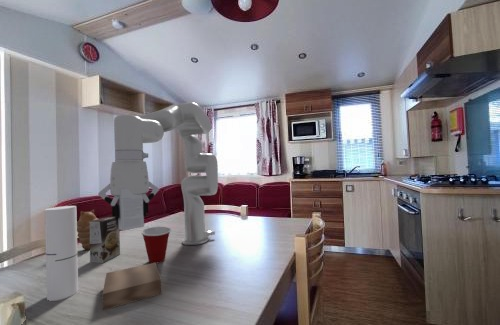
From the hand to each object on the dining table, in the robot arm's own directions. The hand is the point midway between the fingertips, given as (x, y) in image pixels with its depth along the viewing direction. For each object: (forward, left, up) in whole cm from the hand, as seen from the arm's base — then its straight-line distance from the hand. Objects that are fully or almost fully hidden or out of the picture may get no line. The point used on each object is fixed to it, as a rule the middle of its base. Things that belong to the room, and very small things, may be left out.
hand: (131, 216), depth 68 cm
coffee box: (+9, -35, -22) cm, 42 cm away
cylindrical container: (+18, -9, -22) cm, 30 cm away
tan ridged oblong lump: (+17, -53, -22) cm, 60 cm away
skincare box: (0, 0, -4) cm, 4 cm away
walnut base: (0, 0, -21) cm, 21 cm away
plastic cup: (-9, -20, -22) cm, 31 cm away
